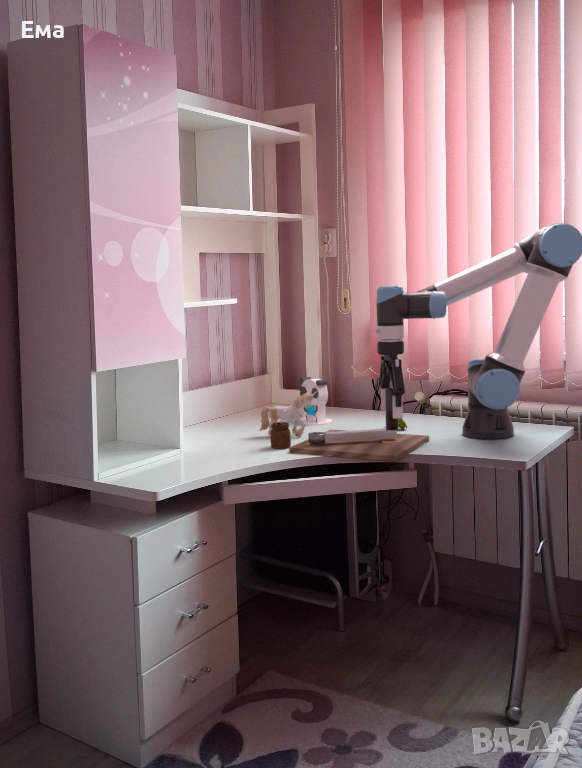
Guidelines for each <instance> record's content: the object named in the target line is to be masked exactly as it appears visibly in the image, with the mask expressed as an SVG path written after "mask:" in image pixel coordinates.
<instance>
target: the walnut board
mask: <svg viewBox="0 0 582 768" xmlns="http://www.w3.org/2000/svg"><path fill="white" fill-rule="evenodd" d="M335 431H348V430H346V429H345V430H344V429H329V430H326V431H325V432H335ZM427 441H428V442H430V436H429V435H422V434H409V433H408V434H407V433H397V438H396V439H380V440H363V441H347V442H331V443H323V444H310V443H309V439H305V440H303V441H301V442H299V443H297V444H294V445H291V446H290V447H289V448H288V453H289V454H298V455H299V454H300V455H314V456H323V457H337V458H338V457H339V458H347V459H348V458H350V459H365V460H377V461H389V462H398V461H399V460H401V459H402V458H404V457H405V456H407V455H409V454H410V453H412V452H414V451H415V450H417V449H418V448H420V447H422V446H424V443H425V444H426V443H428V442H427Z"/></svg>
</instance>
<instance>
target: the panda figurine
mask: <svg viewBox="0 0 582 768" xmlns="http://www.w3.org/2000/svg"><path fill="white" fill-rule="evenodd" d="M299 385H300V388H299V389H300V390H299V397H300V396H301V395H303V394H306V393H309V394H310V395H312V394H313V393H314V392H316V391H317V390H318V392H317V393H316V394H315V395H314V396H313V399H312V401H311V405H312V406H311V407H310V408H308V407H307V404H305V407H304V412H305V418H304V419H302V420H303V422H304V423H305V426H322V425H323V426H324V425H328V424H333V419H330V418H327V416H326V415H327V413H326V404H327V403H328V400H329V390H328V386H327V385H328V380H327V378H326V379H325V378H323V379H321V378H312V377H311V376H306V377H300V379H299Z"/></svg>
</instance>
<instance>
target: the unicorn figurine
mask: <svg viewBox="0 0 582 768" xmlns="http://www.w3.org/2000/svg"><path fill="white" fill-rule="evenodd" d="M317 392H318V390H317V391H316V392H314V393H313V394H312V395H310V394H309V393H306V394H303V395H301V396H300V395H299V396H298V397H297V398H296V399H295V400H294V401H292V404H291V405H288V406H282V405H274V406H271V407H270V406H268V405H266V406H265V407H263V409H262V410H261V413H260V415H261V419H260V422H261V426H260V429H259V431H260V432H261V431H265V430H267V429H268V432H267V435H268V436H269V437H270V433H271V430H272V428H271V425H272V423H275V419H274V418H273V416H272V410H273V408H274V411H275V409H276V412H277V417H278V418H277V419H276V421H277V422H278V420H282V417H283V421H294V424H293V427H292V429H291V432H292V435H295V436H298V438H300V437H301V436H302V435H303V434H304V430H305V427H306V425H305V423H304V422H303V419H302V418H303V417H304V412H305V411H304V407H305V404H307V407H308V408H310V407H311V406H312V405H311V401H312V399H313V396H314V395H315V394H316V393H317ZM271 408H272V410H271ZM282 409H284V410H285V409H286V410H287V411H286V410H285V415H284V410H282ZM280 412H281V413H280ZM281 414H282V415H281ZM273 415H274V412H273ZM275 415H276V413H275ZM285 416H286V418H287V419H286V418H285ZM269 418H270V419H269ZM298 424H299V425H301V427H299V428H298ZM297 428H298V429H297Z"/></svg>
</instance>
